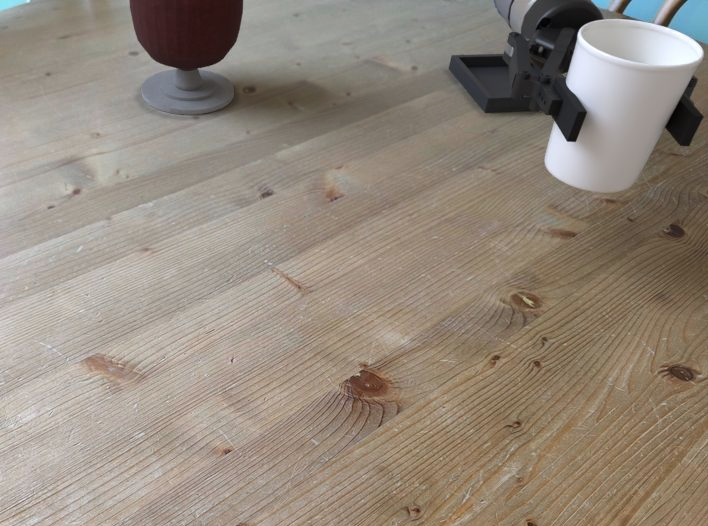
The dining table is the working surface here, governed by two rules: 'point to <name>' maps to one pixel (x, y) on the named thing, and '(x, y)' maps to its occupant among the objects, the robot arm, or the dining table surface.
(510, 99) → the shallow tray
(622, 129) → the white cup
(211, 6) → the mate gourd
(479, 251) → the dining table surface
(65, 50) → the dining table surface
